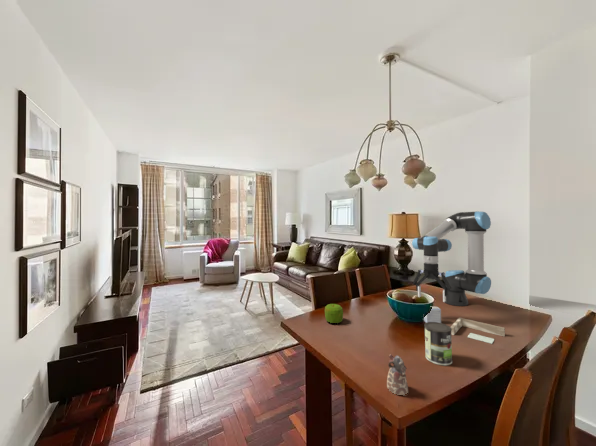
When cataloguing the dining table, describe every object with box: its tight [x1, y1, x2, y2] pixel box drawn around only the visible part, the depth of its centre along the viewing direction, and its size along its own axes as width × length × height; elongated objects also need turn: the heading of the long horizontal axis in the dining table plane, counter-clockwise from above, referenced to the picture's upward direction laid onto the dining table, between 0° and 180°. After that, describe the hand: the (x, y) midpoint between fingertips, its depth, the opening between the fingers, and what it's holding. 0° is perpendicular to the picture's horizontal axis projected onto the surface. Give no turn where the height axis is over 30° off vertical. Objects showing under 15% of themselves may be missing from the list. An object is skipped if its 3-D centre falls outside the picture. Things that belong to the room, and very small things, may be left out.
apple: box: [324, 303, 344, 324], centre depth 150 cm, size 11×11×11 cm
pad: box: [467, 332, 495, 345], centre depth 124 cm, size 6×10×1 cm, turn 43°
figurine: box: [386, 353, 409, 396], centre depth 89 cm, size 7×7×12 cm
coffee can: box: [424, 322, 453, 366], centre depth 107 cm, size 10×10×14 cm
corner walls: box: [450, 317, 506, 337], centre depth 128 cm, size 17×20×4 cm
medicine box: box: [423, 306, 442, 323], centre depth 145 cm, size 8×4×9 cm, turn 84°
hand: (431, 299), depth 145 cm, fingers open, 13 cm apart
